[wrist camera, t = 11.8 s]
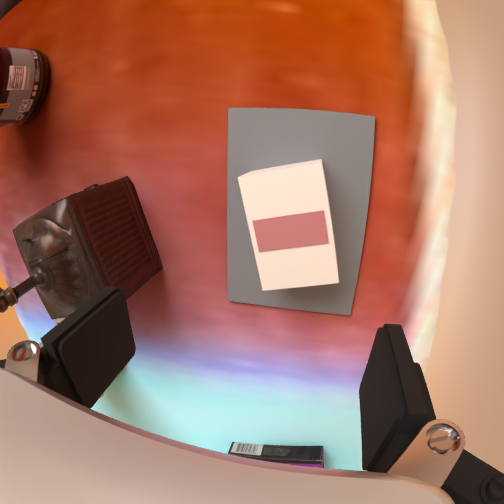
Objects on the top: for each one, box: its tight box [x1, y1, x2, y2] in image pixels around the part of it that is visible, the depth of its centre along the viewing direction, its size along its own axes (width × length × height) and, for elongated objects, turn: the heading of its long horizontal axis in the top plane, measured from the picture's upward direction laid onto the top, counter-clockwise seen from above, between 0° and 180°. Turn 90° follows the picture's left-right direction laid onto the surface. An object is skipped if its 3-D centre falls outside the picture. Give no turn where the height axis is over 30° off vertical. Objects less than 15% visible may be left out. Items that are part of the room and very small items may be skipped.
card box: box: [238, 159, 339, 291], centre depth 24 cm, size 6×9×4 cm, turn 12°
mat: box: [227, 108, 375, 315], centre depth 26 cm, size 18×12×1 cm, turn 179°
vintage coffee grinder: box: [0, 176, 162, 319], centre depth 24 cm, size 16×11×18 cm
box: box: [228, 442, 324, 468], centre depth 40 cm, size 14×4×20 cm
